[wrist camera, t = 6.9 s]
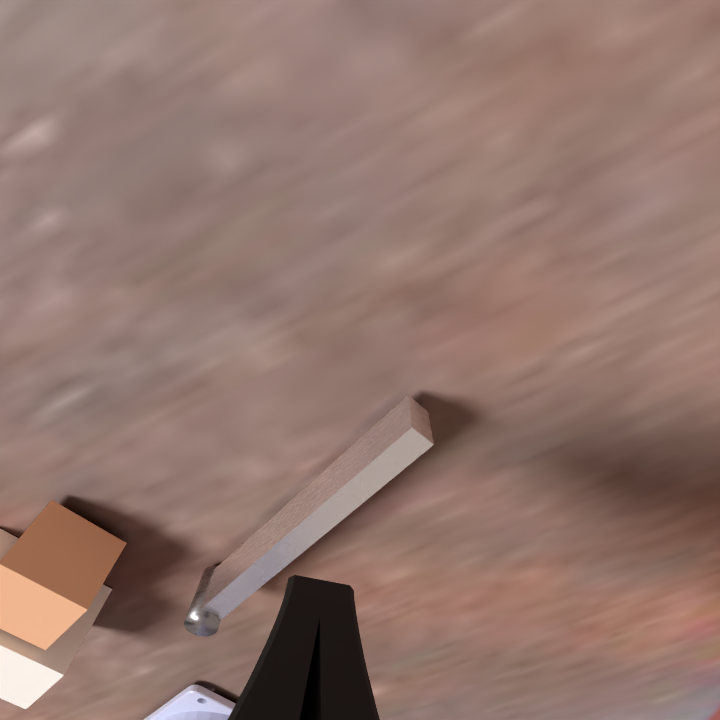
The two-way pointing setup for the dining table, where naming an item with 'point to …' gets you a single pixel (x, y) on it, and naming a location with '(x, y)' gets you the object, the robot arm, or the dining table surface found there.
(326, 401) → the dining table surface
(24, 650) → the socket block
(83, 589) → the light orange square block
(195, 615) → the bar
